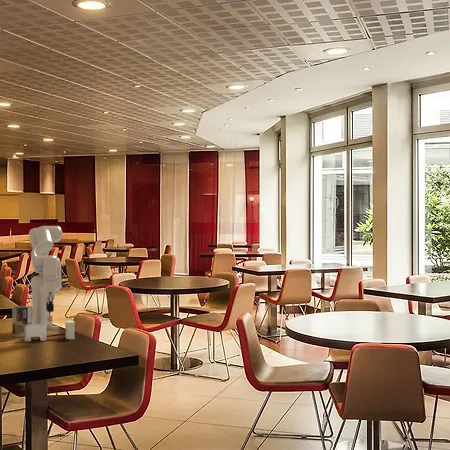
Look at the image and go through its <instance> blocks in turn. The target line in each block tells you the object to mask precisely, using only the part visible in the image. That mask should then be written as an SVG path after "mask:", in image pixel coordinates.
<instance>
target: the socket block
mask: <svg viewBox="0 0 450 450" xmlns="http://www.w3.org/2000/svg"><path fill="white" fill-rule="evenodd" d="M75 324H76V323H75V321H74V320H65V339H66V340H67V339H69V340H75V331H76V330H75V329H76V328H75Z"/></svg>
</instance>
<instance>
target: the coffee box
mask: <svg viewBox="0 0 450 450" xmlns="http://www.w3.org/2000/svg"><path fill="white" fill-rule="evenodd" d="M11 309H12V310H11V312H12V313H11V314H12V315H11V316H12V323H11V324H12V330H11V331H12V334H11V335H12V337H14V338H15V337H16V338H17V337H18V338H21V337H24V338H25V324H32V306H28V305H27V306H21V305H20V306H17V305H16V306H14V307H12V308H11Z"/></svg>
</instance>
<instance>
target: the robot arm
mask: <svg viewBox="0 0 450 450" xmlns="http://www.w3.org/2000/svg"><path fill="white" fill-rule="evenodd" d="M28 238H29V242H30V245H31V248H32V251H31V254H30V255H31V256H30V258H31V265H32V268H33V272H35V273H37V274H39V275H35V276H33V277H31V279H30V287H31V297H32V299H31V300H32V303H31V304H32V324H46V325H47V315H50V313H53V312H54V311H55V309H54V307H55V305H54V300H55V298H56V297H55V296H56V295H55V294H56V292H58V291H60V290H61V288H62V263H61V259H60V258H59V257H58V256H56V255H49V252H50V251H52V250H53V249H54V243H57V242H60V241H61V240H62V238H63V230H62V228H61V227H60V226H59V225H41V226H39V227H34V228H31V229H30V230H29V233H28ZM40 274H42V275H40Z"/></svg>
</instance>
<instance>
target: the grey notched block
mask: <svg viewBox="0 0 450 450" xmlns="http://www.w3.org/2000/svg"><path fill="white" fill-rule="evenodd" d="M38 337H39V340H40V342H45V341H47V340H48V339H47V337H48V334H47V325H46V324H25V337H24V342H32V338H38Z"/></svg>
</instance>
